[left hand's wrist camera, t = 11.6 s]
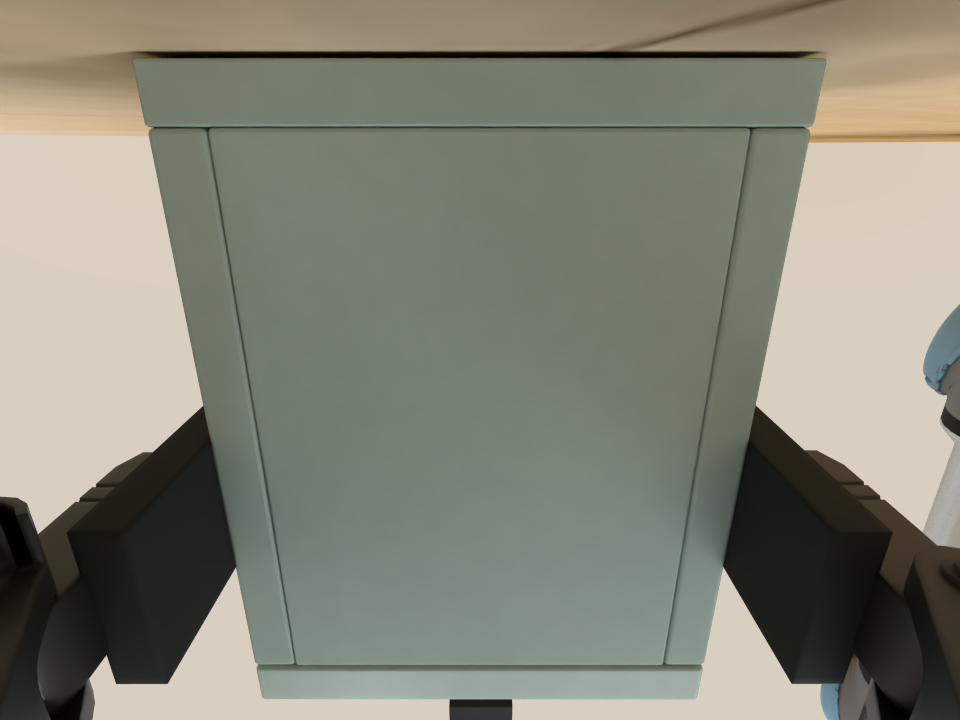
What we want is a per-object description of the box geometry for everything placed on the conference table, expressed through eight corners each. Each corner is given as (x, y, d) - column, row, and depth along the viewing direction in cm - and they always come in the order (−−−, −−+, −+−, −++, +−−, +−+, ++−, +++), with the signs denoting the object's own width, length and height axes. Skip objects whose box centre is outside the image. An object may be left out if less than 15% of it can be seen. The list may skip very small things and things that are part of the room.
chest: (586, 122, 24) (570, 358, 27) (373, 122, 24) (389, 358, 27) (829, 57, 7) (705, 666, 11) (129, 56, 7) (254, 666, 11)
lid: (569, 355, 28) (561, 492, 31) (390, 356, 28) (399, 492, 31) (704, 668, 11) (657, 901, 14) (254, 668, 11) (302, 901, 14)
